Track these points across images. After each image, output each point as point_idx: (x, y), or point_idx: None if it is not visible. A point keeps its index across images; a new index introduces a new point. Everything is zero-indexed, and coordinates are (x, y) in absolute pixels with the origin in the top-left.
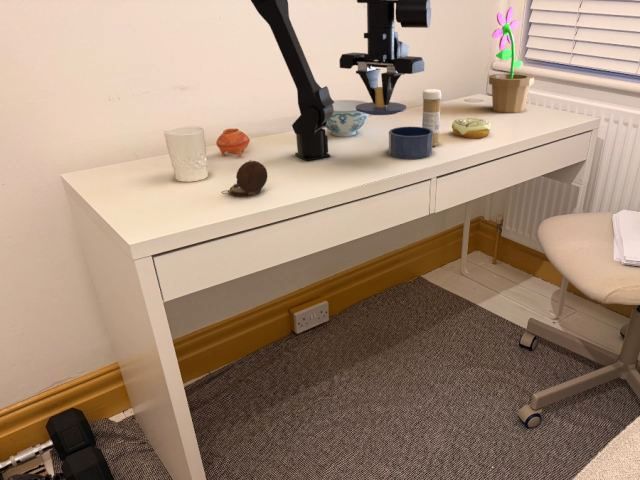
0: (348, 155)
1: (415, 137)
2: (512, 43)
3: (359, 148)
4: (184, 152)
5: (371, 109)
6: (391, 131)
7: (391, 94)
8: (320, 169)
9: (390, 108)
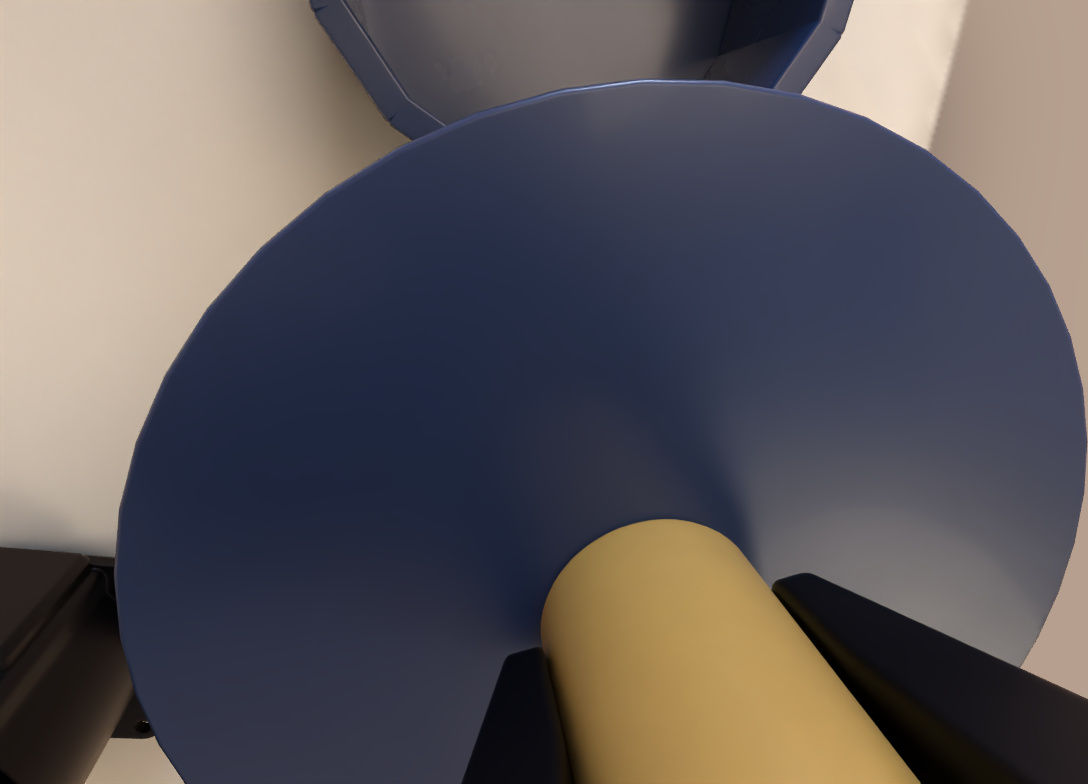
0: None
1: (799, 93)
2: None
3: (38, 197)
4: None
5: None
6: (401, 86)
7: (1023, 689)
8: None
9: (883, 597)
